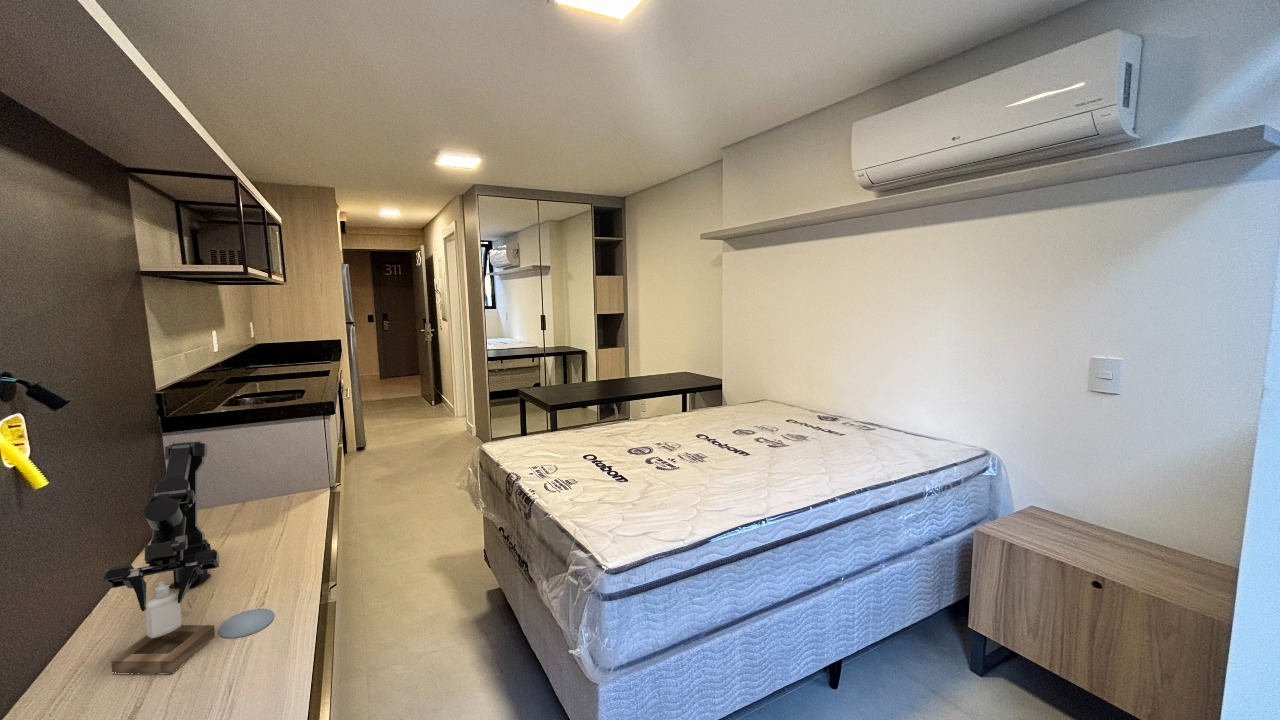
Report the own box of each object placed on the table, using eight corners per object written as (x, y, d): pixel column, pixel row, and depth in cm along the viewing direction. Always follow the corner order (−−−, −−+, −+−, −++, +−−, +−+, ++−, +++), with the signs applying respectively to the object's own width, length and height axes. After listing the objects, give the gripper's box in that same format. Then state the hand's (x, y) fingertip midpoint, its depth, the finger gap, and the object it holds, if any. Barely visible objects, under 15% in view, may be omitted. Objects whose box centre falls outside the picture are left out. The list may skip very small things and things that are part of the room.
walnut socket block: (112, 674, 108) (111, 661, 108) (161, 636, 120) (160, 625, 120) (172, 674, 109) (171, 661, 109) (214, 636, 121) (214, 625, 121)
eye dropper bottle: (179, 632, 114) (176, 582, 112) (145, 640, 111) (141, 589, 109) (183, 621, 118) (179, 572, 116) (149, 629, 114) (146, 579, 113)
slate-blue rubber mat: (206, 638, 121) (206, 636, 121) (239, 609, 131) (239, 608, 131) (255, 638, 121) (255, 636, 121) (284, 610, 132) (284, 608, 132)
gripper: (102, 534, 109) (89, 609, 102) (215, 516, 120) (211, 584, 112) (116, 552, 117) (105, 623, 109) (221, 534, 127) (217, 598, 119)
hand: (161, 606), depth 112 cm, fingers closed on eye dropper bottle, 5 cm apart
